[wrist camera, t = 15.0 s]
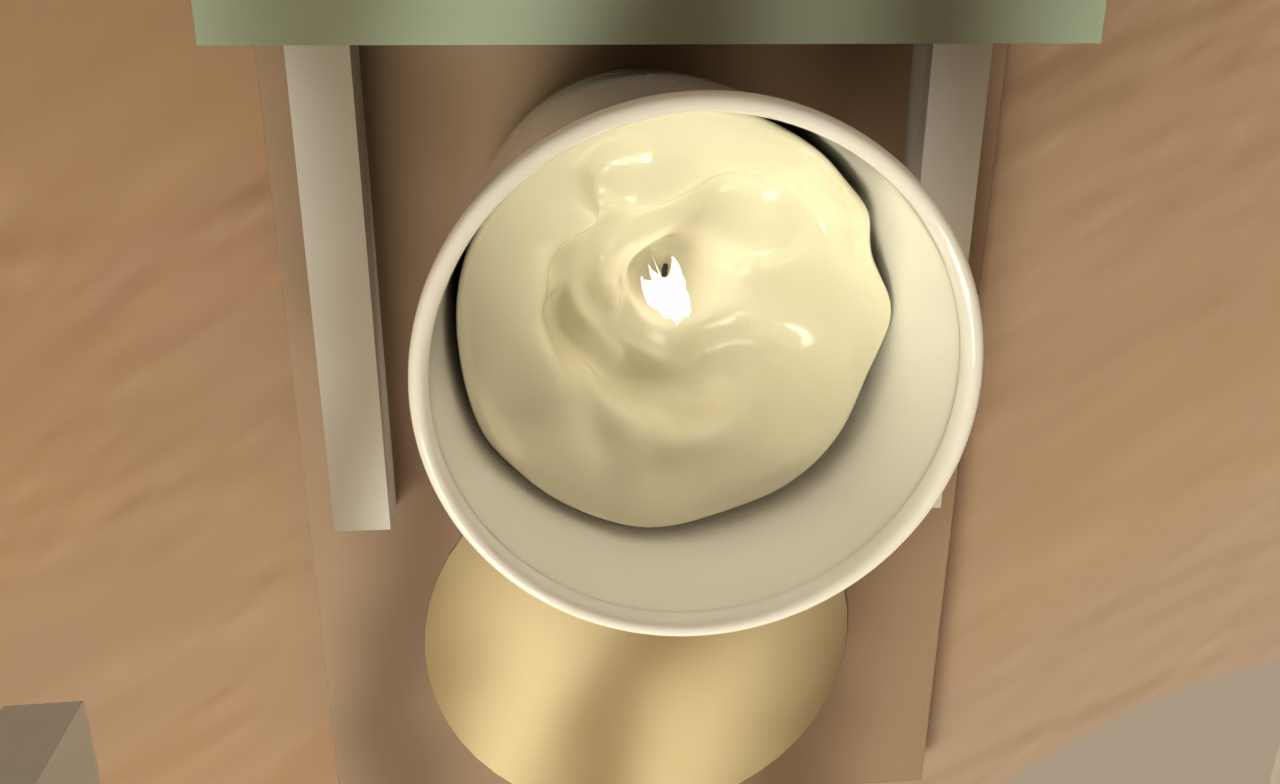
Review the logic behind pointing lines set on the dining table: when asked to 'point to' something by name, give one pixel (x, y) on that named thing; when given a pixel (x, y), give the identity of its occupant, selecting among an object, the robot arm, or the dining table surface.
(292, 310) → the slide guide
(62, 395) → the dining table surface
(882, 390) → the candle holder
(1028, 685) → the dining table surface
